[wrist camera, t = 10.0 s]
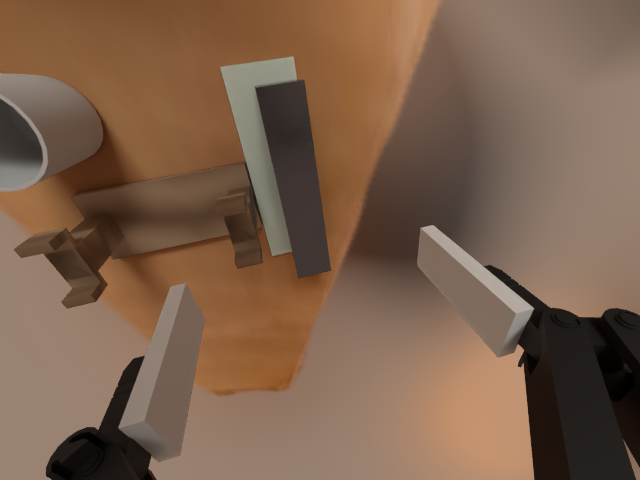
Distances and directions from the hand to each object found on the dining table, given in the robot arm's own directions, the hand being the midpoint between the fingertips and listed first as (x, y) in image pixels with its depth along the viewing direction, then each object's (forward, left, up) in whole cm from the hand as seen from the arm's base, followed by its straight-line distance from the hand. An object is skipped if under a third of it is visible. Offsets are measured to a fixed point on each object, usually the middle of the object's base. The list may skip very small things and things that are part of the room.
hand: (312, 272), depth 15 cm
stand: (+2, -12, -20) cm, 23 cm away
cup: (-10, -19, -20) cm, 30 cm away
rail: (+1, +1, -19) cm, 19 cm away
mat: (0, 0, -20) cm, 20 cm away
